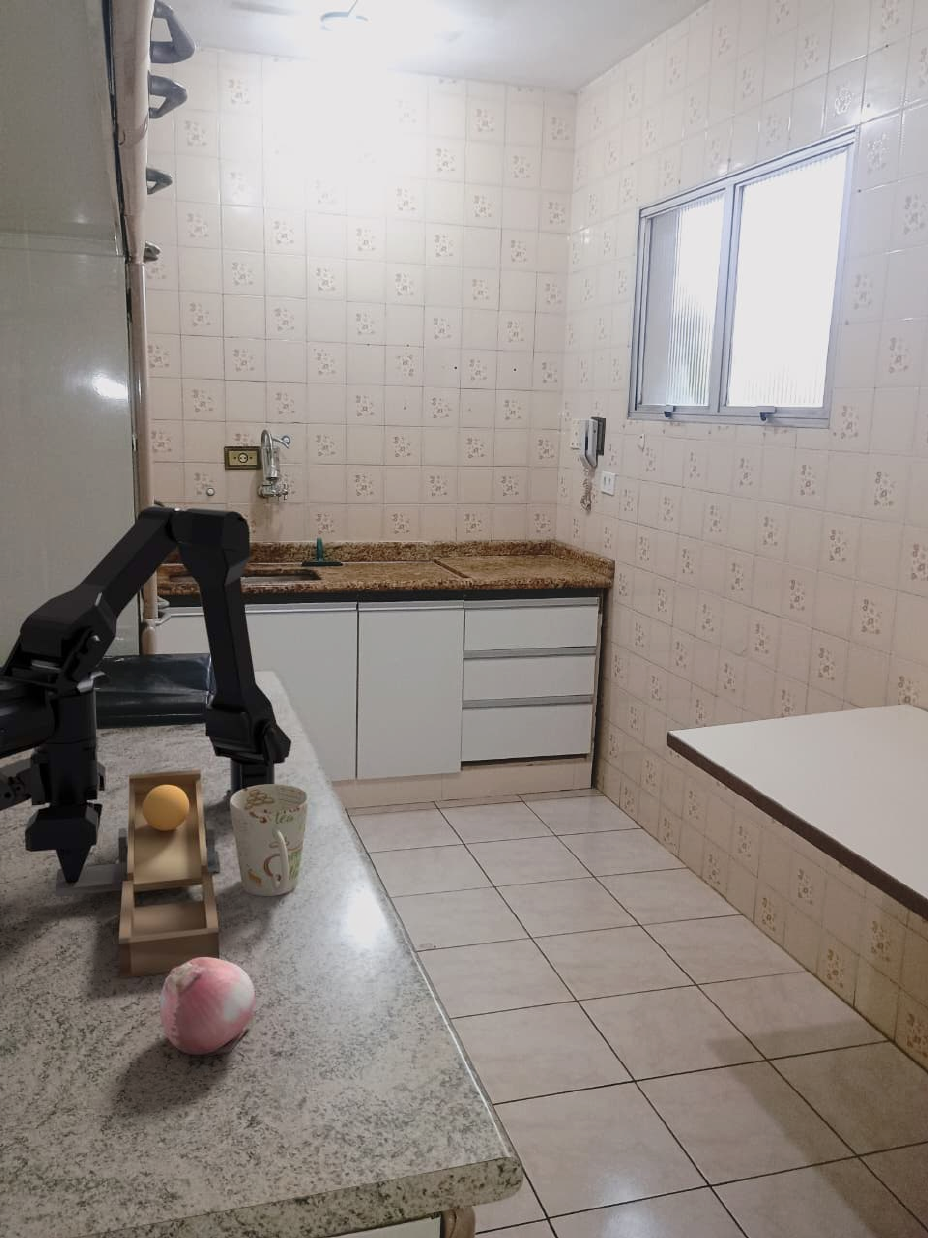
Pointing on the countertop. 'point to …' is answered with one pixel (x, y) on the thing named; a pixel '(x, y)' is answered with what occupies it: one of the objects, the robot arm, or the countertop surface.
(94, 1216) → the countertop surface
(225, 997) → the onion
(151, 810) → the ball
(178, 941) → the tray
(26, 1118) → the countertop surface
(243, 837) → the mug
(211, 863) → the stand
